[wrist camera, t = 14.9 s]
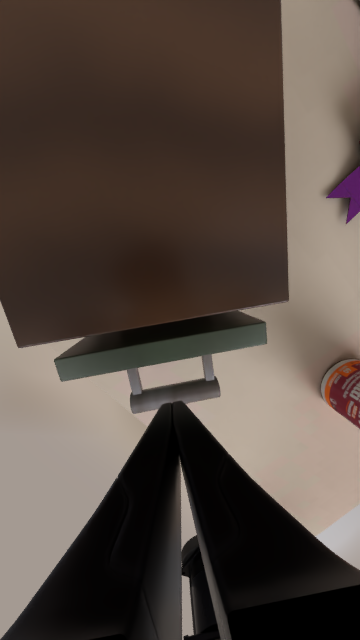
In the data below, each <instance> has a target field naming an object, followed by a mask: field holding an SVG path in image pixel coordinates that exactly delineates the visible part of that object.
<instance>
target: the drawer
mask: <svg viewBox="0 0 360 640" xmlns="http://www.w3.org/2000/svg"><path fill="white" fill-rule="evenodd" d="M264 344H267V333H266V322H264V321H262V320H259V319H257V318H254V317H252V316H249V315H247V314H244V313H242V312H240V311H232V312H226V313H220V314H214V315H209V316H203V317H197V318H191V319H186V320H180V321H174V322H168V323H162V324H157V325H151V326H145V327H139V328H133V329H128V330H122V331H116V332H110V333H105V334H99V335H93V336H87V337H85V338H83V339H82V340H81V341H79V342H78V343H76V344H75V345H74V346H72V347H71V348H70V349H68V350H67V351H65V352H64V353H63V354H61V355H60V356H59V357H57V358H56V359H54V362H55V365H56V368H57V371H58V374H59V377H60V380H61V381H68V380H73V379H79V378H84V377H90V376H95V375H101V374H106V373H112V372H117V371H122V370H127V373H128V377H129V381H130V385H131V389H132V392H131V395H130V406H131V411H132V413H133V414H136V413H141V412H146V411H151V410H156V409H159V408H160V407H161V405H162V404H164V403H169V402H171V403H173V402H174V401H179V400H182V401H183V402H184V403H185V404H186V403H191V402H197V401H202V400H207V399H212V398H217V397H220V395H221V393H220V387H219V383H218V380H217V378H216V376H214V371H213V363H212V356H211V354H215V353H220V352H226V351H231V350H236V349H242V348H247V347H253V346H258V345H264ZM198 356H202V363H203V370H204V377H205V378H202V379H197V380H192V381H187V382H181V383H176V384H171V385H166V386H160V387H155V388H150V389H145V390H142V385H141V380H140V376H139V372H138V368H139V367H144V366H150V365H155V364H160V363H166V362H171V361H177V360H182V359H188V358H193V357H198Z"/></svg>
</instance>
